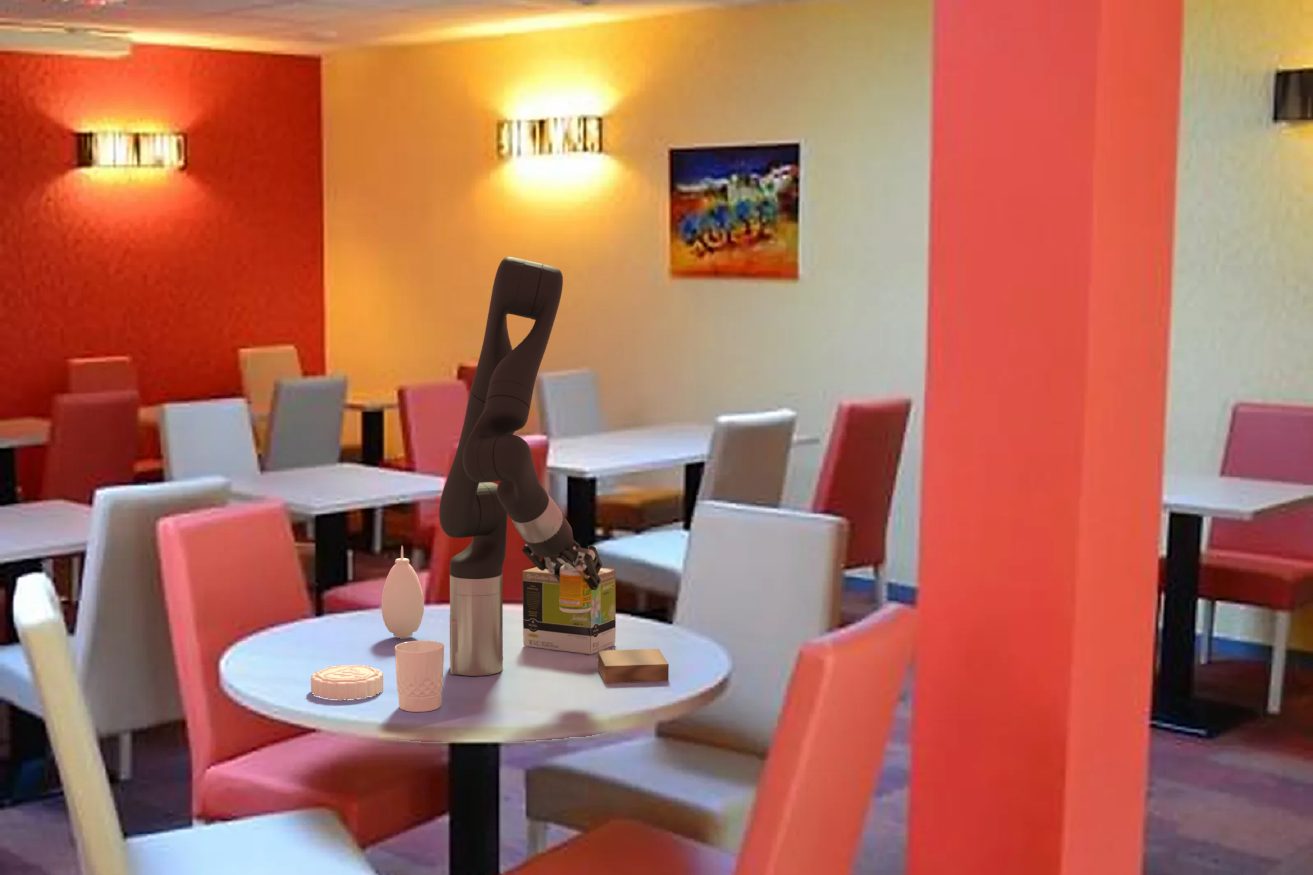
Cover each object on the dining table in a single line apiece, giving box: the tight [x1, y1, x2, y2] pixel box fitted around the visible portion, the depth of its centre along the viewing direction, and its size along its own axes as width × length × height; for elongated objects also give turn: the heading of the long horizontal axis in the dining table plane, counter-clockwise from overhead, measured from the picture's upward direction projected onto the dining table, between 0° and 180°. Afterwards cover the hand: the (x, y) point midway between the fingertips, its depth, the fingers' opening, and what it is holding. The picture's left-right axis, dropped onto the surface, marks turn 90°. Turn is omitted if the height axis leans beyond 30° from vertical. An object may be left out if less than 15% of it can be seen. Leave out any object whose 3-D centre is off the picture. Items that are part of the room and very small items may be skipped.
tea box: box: [522, 566, 617, 655], centre depth 297 cm, size 15×10×15 cm, turn 62°
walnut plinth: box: [597, 648, 670, 684], centre depth 278 cm, size 11×11×3 cm
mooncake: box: [310, 664, 384, 700], centre depth 265 cm, size 12×12×4 cm
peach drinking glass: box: [394, 640, 445, 713], centre depth 256 cm, size 8×8×10 cm
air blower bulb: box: [380, 545, 425, 640], centre depth 302 cm, size 8×8×18 cm
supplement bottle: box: [559, 557, 592, 613], centre depth 265 cm, size 5×5×10 cm
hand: (581, 583), depth 267 cm, fingers closed on supplement bottle, 5 cm apart
